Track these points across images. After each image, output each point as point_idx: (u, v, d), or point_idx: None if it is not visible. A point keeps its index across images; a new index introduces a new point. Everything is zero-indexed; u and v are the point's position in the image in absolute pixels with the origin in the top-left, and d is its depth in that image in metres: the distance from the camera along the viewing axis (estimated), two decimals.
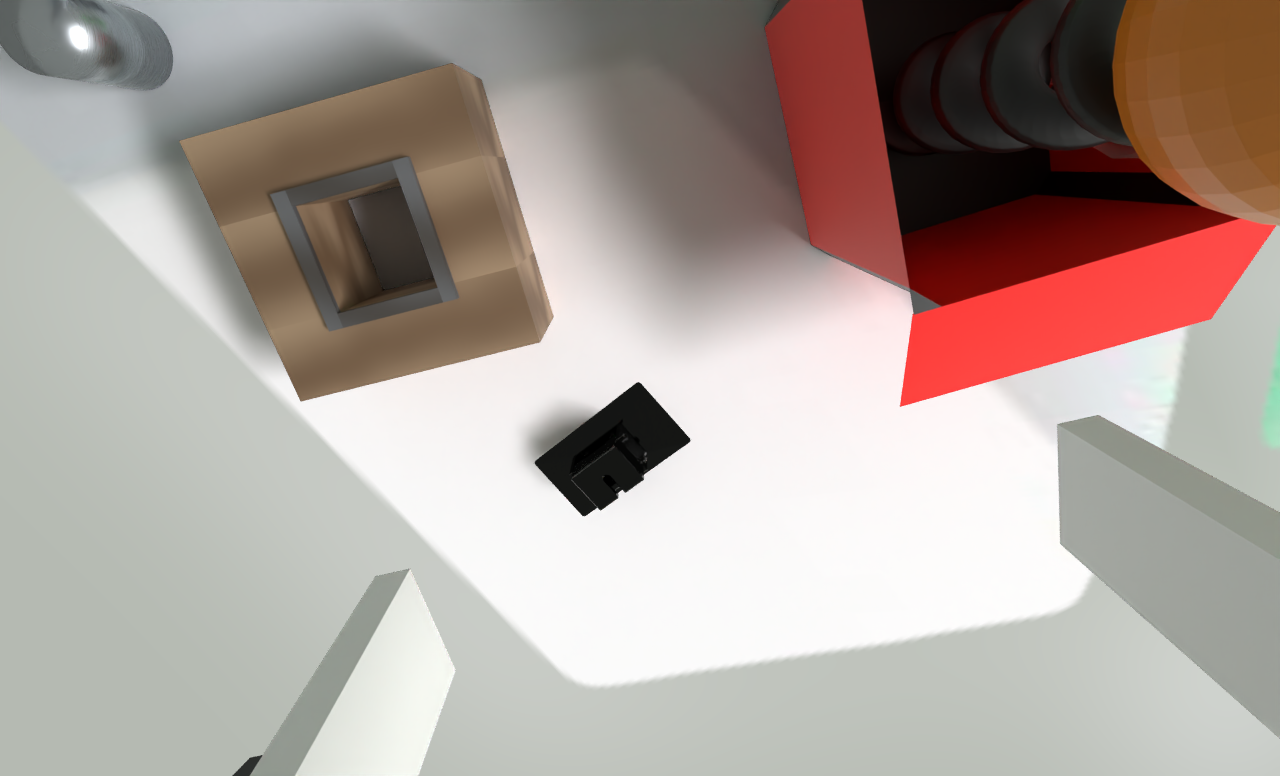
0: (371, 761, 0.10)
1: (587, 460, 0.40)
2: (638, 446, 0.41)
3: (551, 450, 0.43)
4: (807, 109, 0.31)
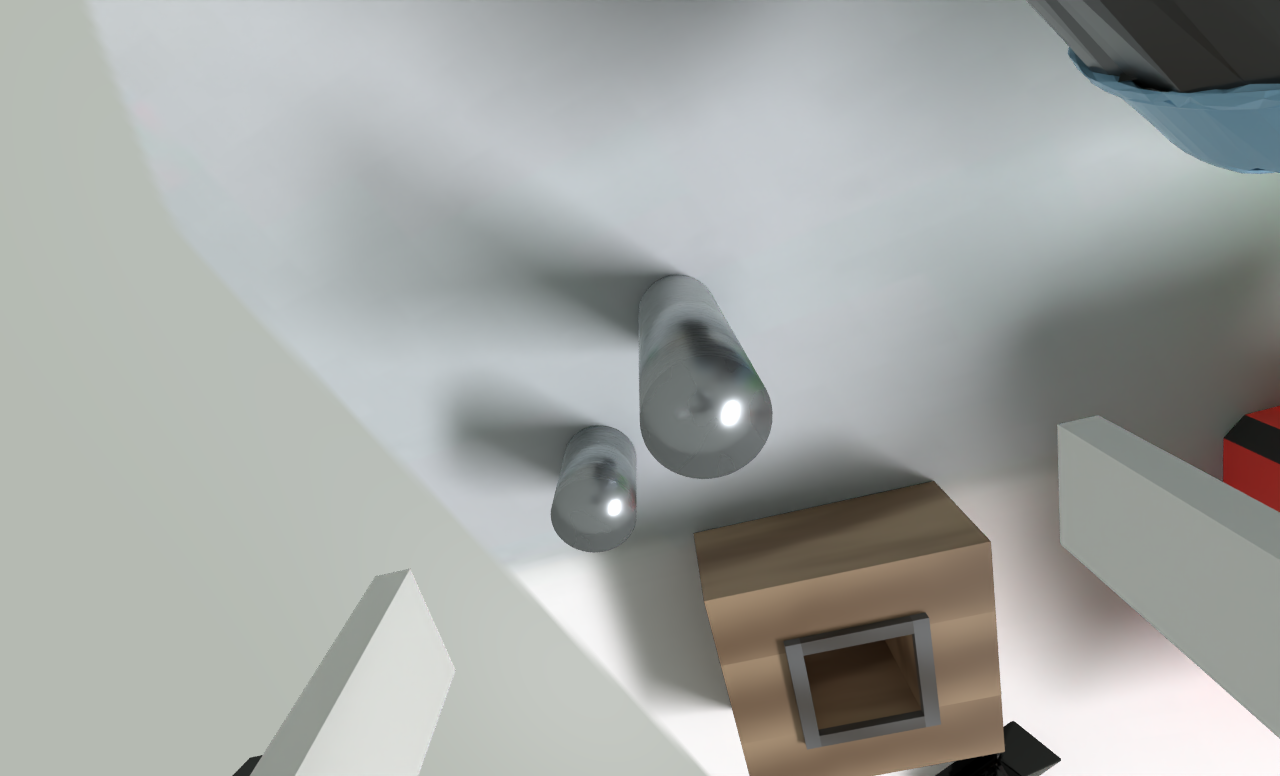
0: (371, 761, 0.10)
1: None
2: None
3: None
4: None
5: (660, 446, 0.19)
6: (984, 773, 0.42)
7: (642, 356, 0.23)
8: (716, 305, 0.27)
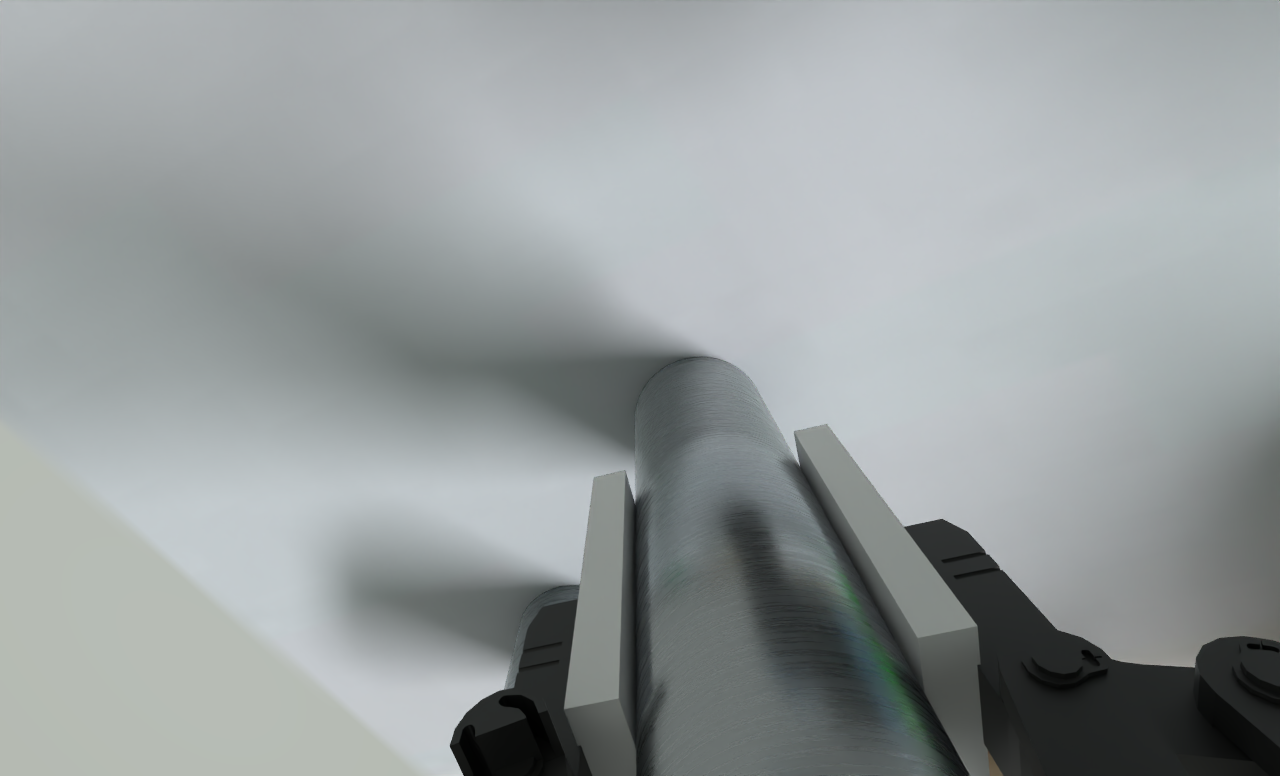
0: None
1: None
2: None
3: None
4: None
5: None
6: None
7: (643, 608, 0.10)
8: (778, 434, 0.15)
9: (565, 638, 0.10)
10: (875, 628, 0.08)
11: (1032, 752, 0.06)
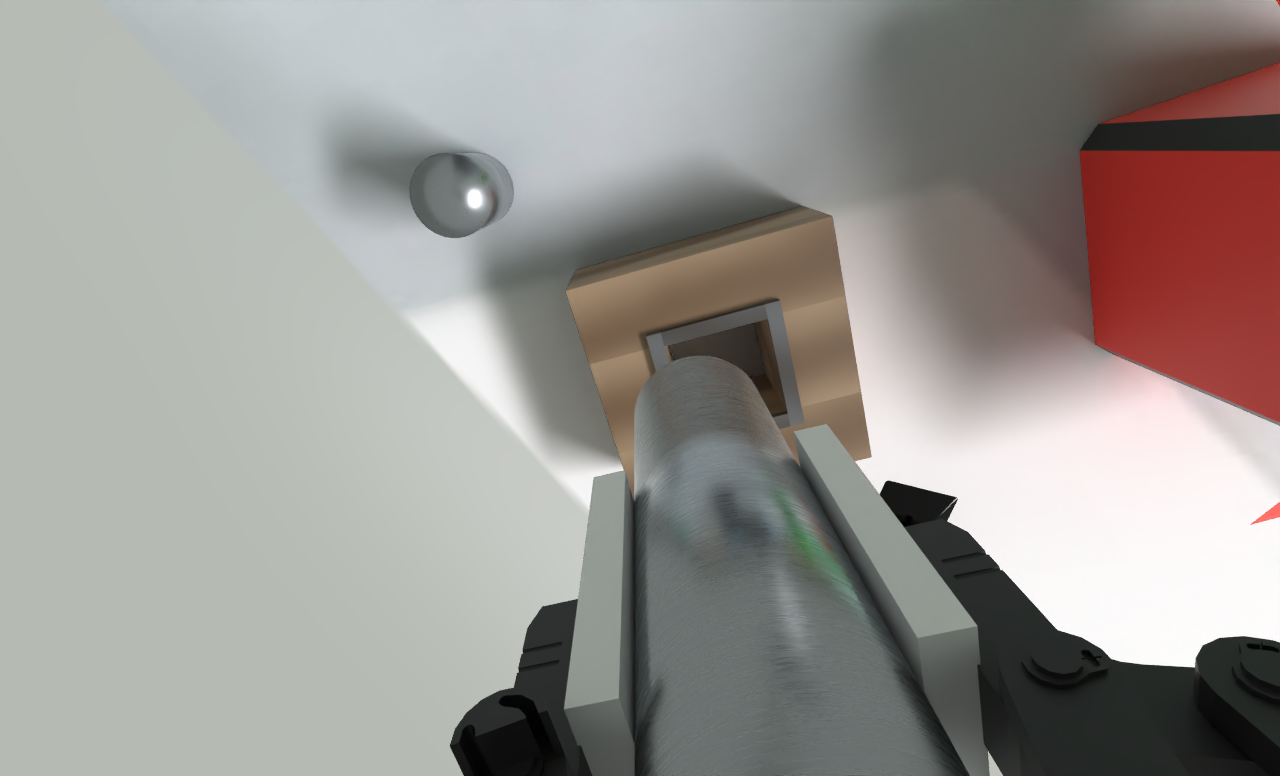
0: None
1: None
2: None
3: None
4: (1153, 242, 0.32)
5: None
6: None
7: (641, 604, 0.10)
8: (777, 432, 0.15)
9: (565, 638, 0.10)
10: (872, 623, 0.08)
11: (1032, 752, 0.06)
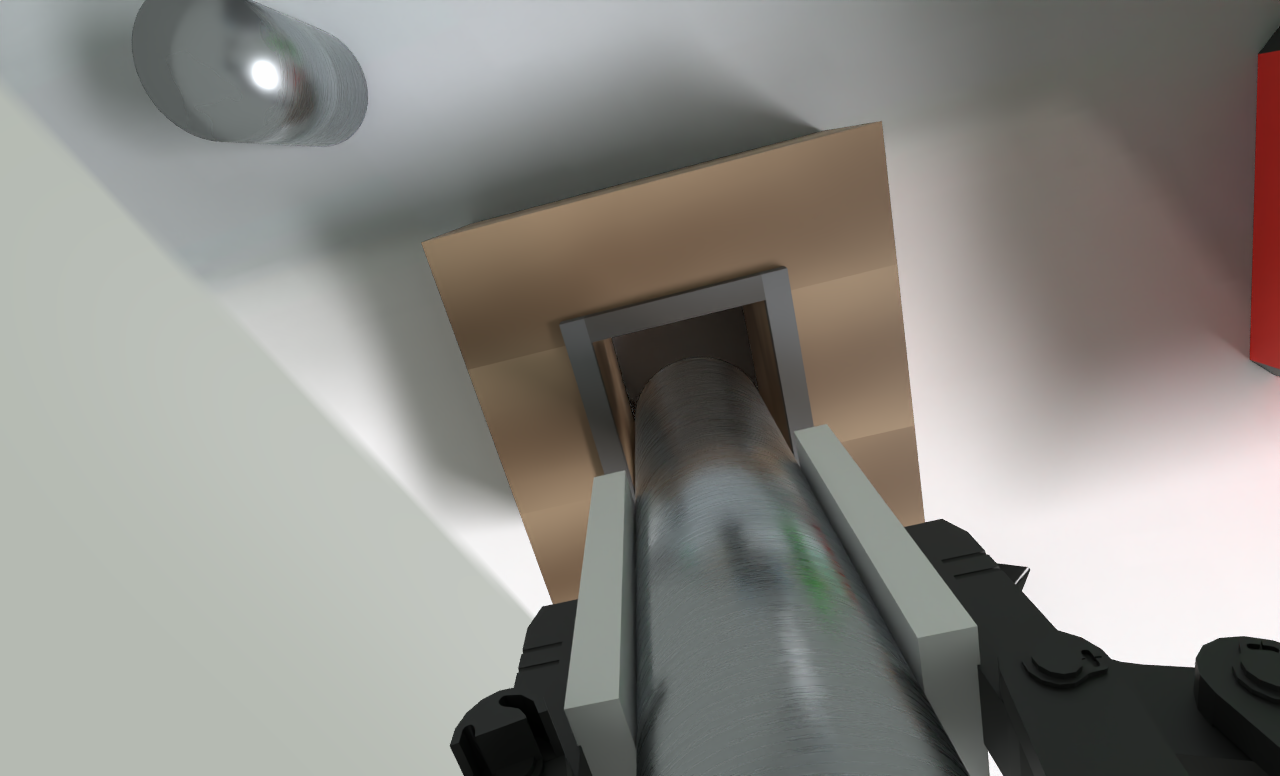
0: None
1: None
2: None
3: None
4: None
5: None
6: None
7: (643, 607, 0.10)
8: (778, 434, 0.15)
9: (565, 638, 0.10)
10: (874, 627, 0.08)
11: (1032, 752, 0.06)
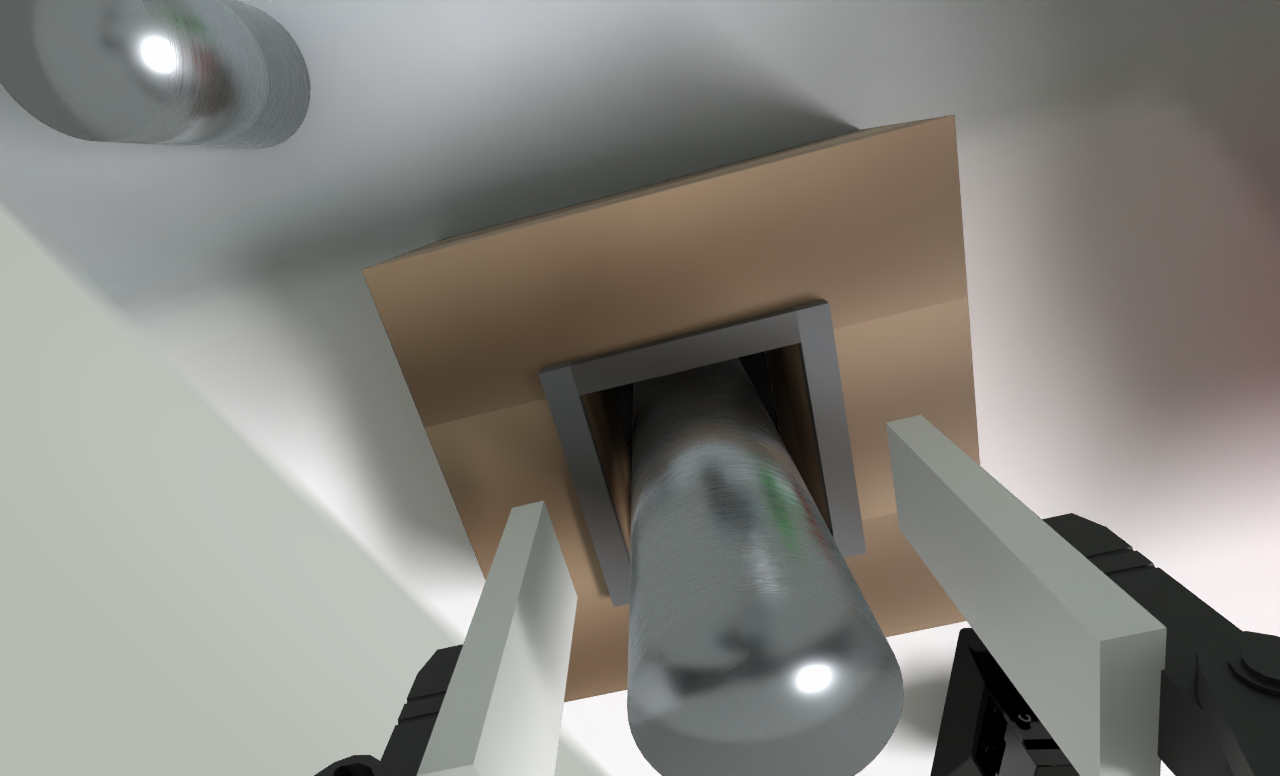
0: (541, 654, 0.11)
1: None
2: None
3: (937, 766, 0.29)
4: None
5: (669, 753, 0.09)
6: (987, 714, 0.27)
7: (636, 510, 0.13)
8: (753, 390, 0.18)
9: None
10: (808, 511, 0.11)
11: (1238, 756, 0.06)
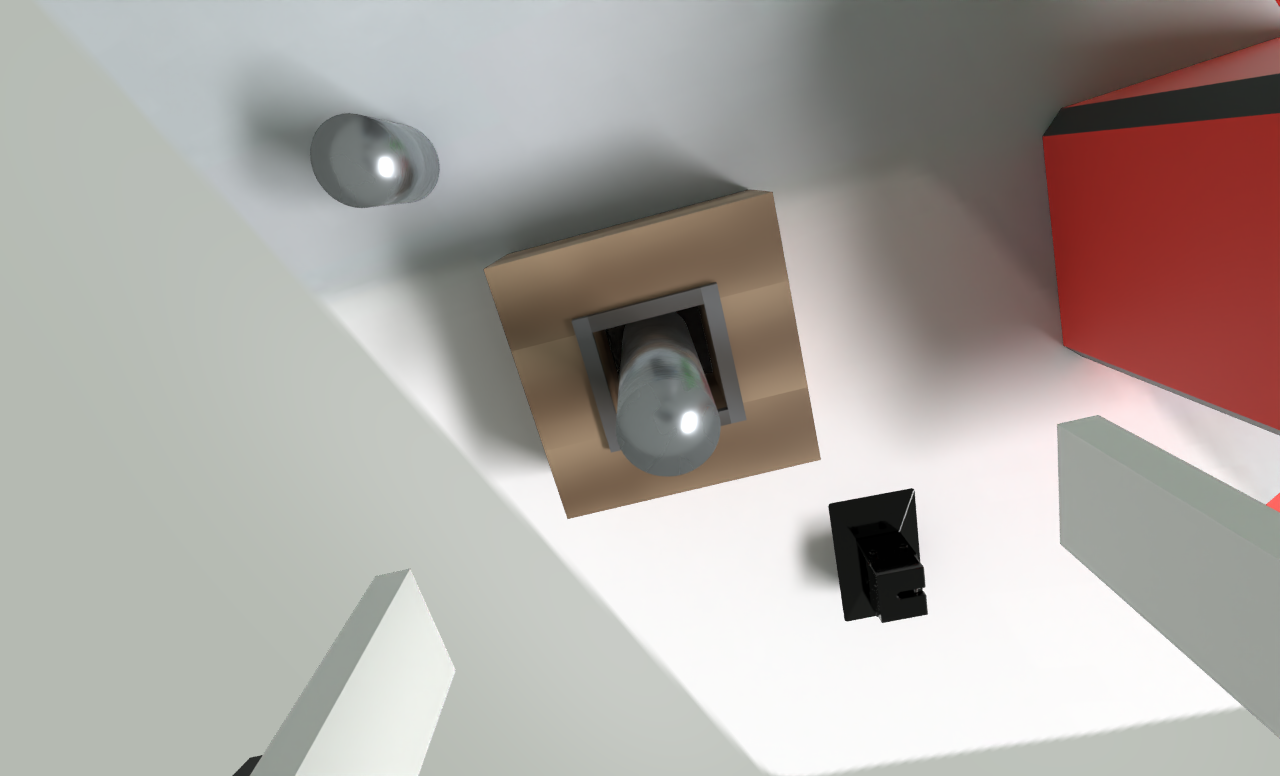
0: (371, 761, 0.10)
1: (873, 595, 0.40)
2: (889, 538, 0.40)
3: (844, 602, 0.43)
4: (1119, 230, 0.30)
5: (632, 450, 0.24)
6: (861, 558, 0.41)
7: (621, 378, 0.28)
8: (686, 333, 0.32)
9: None
10: (694, 367, 0.26)
11: None
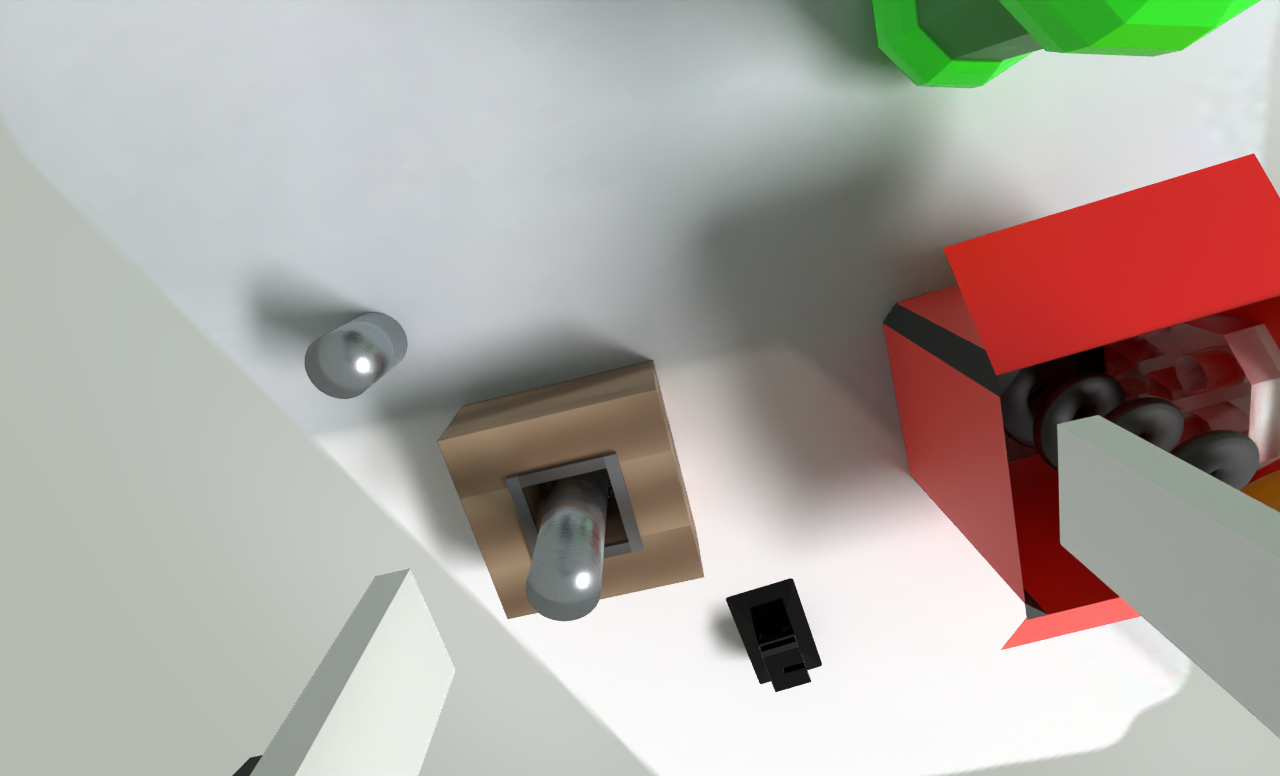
0: (371, 761, 0.10)
1: None
2: (777, 620, 0.50)
3: (756, 669, 0.53)
4: (926, 412, 0.39)
5: (538, 604, 0.33)
6: None
7: None
8: (598, 480, 0.41)
9: None
10: (588, 534, 0.35)
11: None
